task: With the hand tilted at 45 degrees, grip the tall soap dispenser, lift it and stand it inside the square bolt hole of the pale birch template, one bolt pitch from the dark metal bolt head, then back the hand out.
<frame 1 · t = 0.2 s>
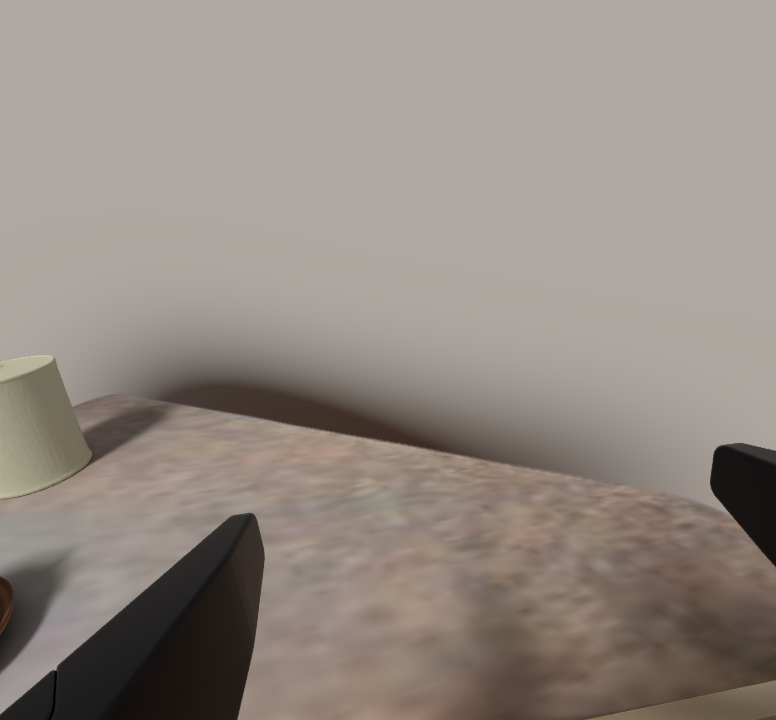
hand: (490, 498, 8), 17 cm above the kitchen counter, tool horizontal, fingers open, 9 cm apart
can: (42, 473, 46), on the kitchen counter
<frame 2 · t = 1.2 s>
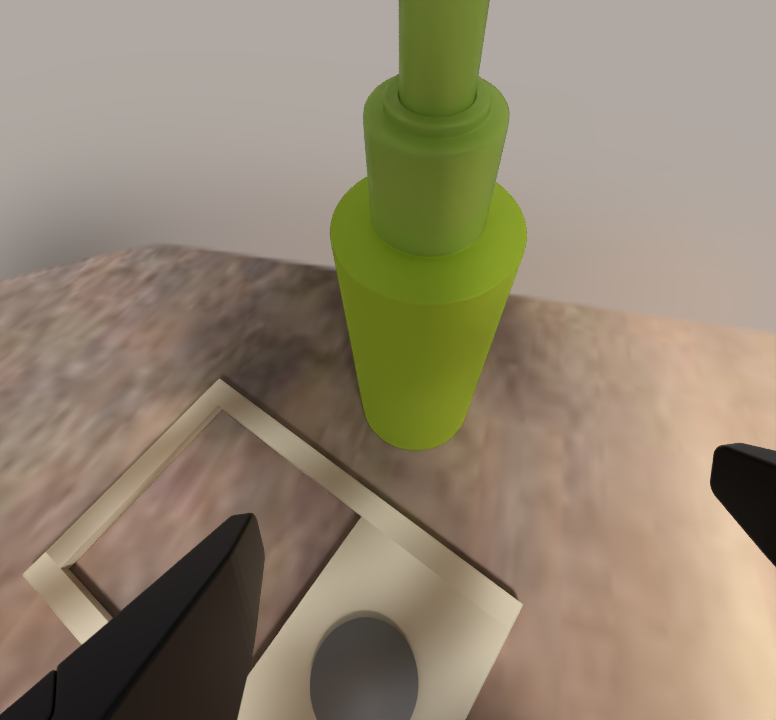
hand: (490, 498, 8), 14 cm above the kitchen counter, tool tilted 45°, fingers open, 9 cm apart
soap dispenser: (423, 402, 25), on the kitchen counter
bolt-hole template: (218, 543, 21), on the kitchen counter
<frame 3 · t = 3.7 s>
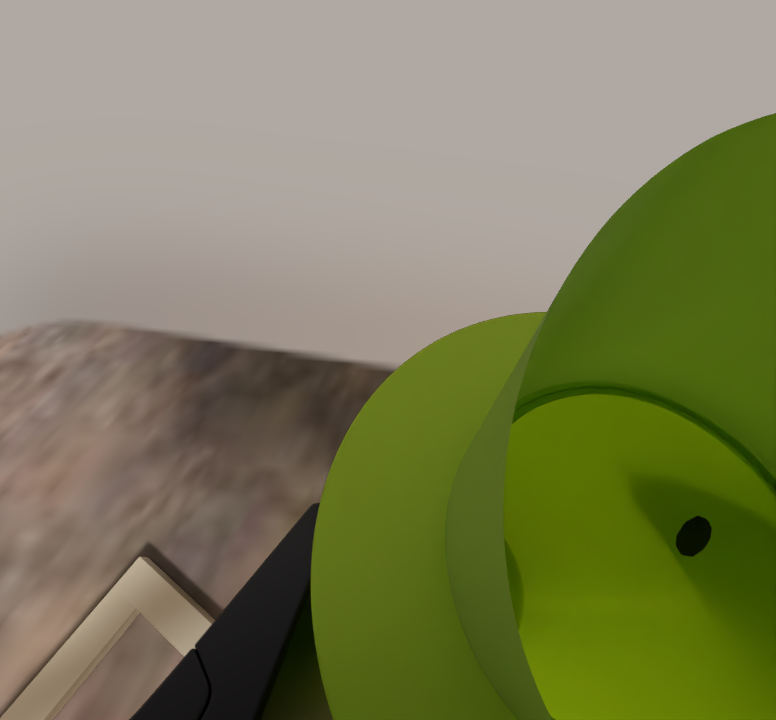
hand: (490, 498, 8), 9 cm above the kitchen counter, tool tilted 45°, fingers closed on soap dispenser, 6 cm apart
soap dispenser: (456, 586, 16), on the kitchen counter, touching gripper
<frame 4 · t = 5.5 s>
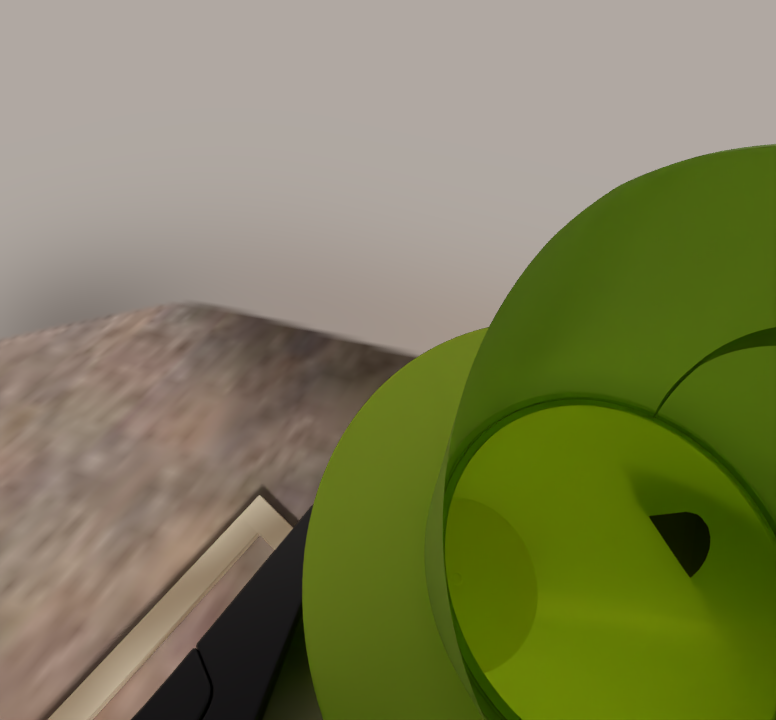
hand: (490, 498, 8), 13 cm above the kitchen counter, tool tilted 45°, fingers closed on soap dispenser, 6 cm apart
soap dispenser: (469, 580, 16), point 4 cm above the kitchen counter, touching gripper
when the fingers open (10 cm above the kitchen counter, at t = 7.5 s): soap dispenser stays where it is, resting in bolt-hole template.
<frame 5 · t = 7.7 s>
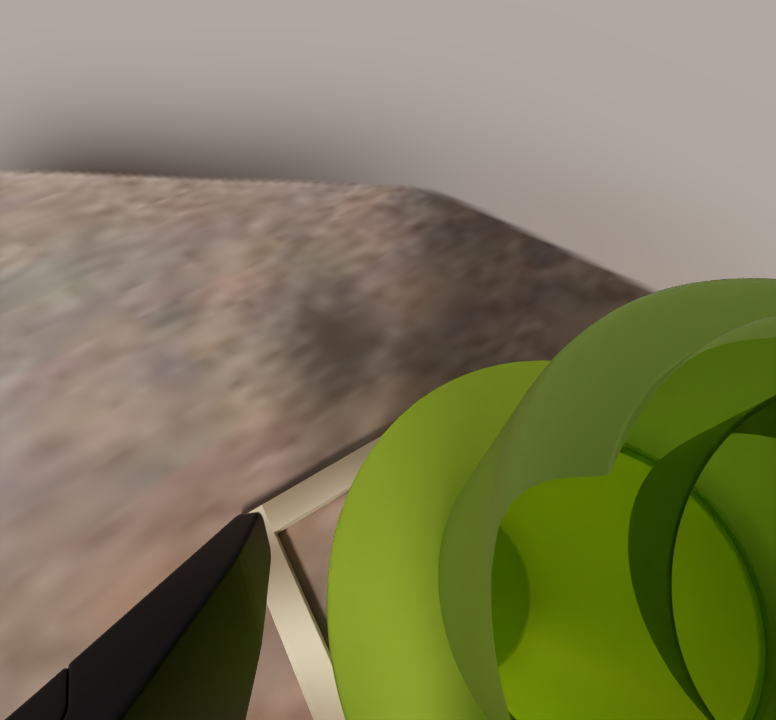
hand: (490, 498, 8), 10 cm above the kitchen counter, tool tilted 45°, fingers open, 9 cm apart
soap dispenser: (466, 587, 17), resting in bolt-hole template
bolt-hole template: (449, 582, 17), on the kitchen counter
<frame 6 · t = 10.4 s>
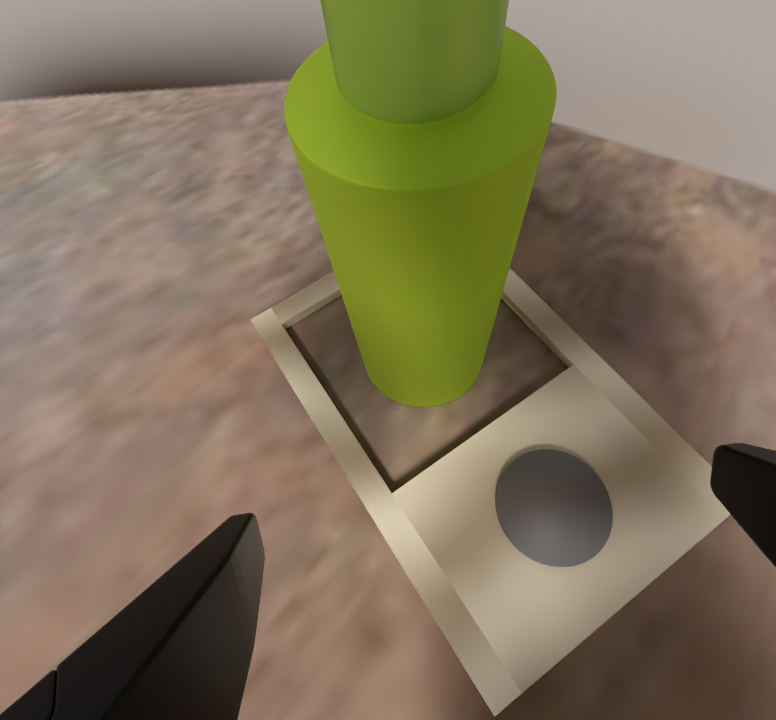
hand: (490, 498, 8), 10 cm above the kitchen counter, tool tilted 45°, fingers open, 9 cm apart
soap dispenser: (433, 352, 21), resting in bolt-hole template
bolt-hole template: (420, 348, 21), on the kitchen counter
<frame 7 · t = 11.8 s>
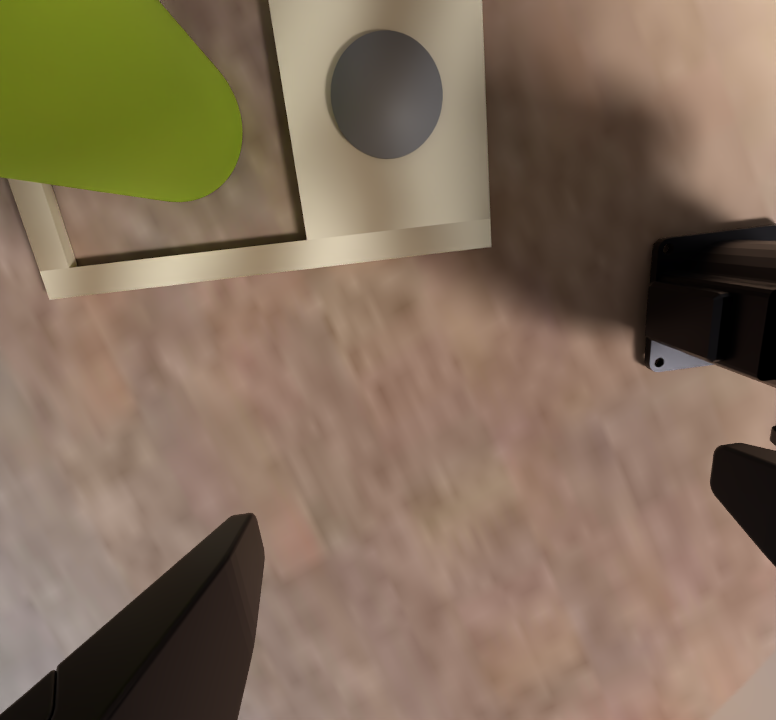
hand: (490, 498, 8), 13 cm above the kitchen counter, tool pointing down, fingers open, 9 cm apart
soap dispenser: (174, 113, 17), resting in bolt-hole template
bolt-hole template: (164, 126, 17), on the kitchen counter
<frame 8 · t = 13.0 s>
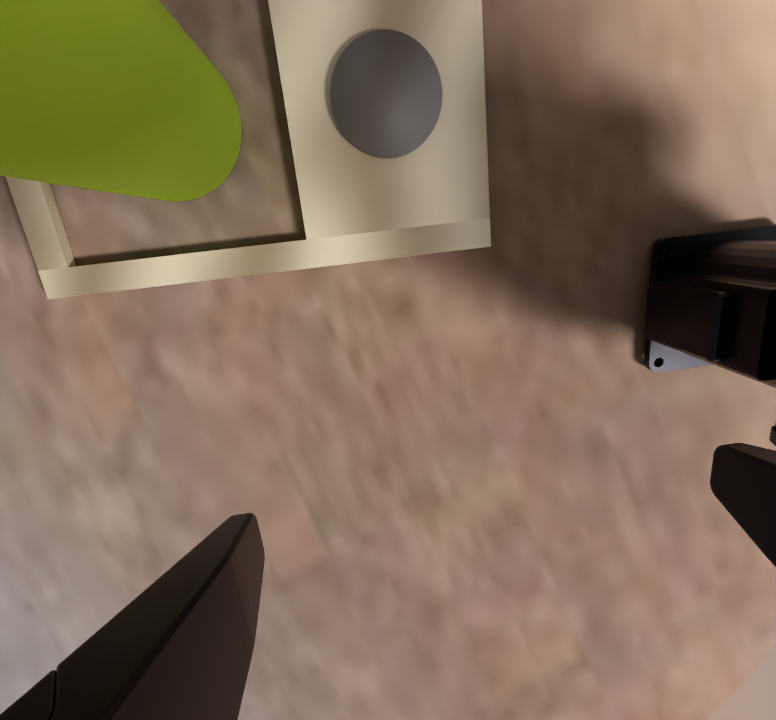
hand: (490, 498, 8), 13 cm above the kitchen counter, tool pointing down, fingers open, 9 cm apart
soap dispenser: (174, 112, 17), resting in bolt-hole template
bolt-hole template: (163, 125, 17), on the kitchen counter
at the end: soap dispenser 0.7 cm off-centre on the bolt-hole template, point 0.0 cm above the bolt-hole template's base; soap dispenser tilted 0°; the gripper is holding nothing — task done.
